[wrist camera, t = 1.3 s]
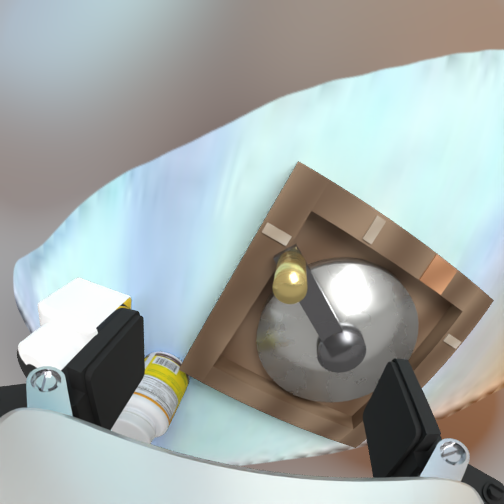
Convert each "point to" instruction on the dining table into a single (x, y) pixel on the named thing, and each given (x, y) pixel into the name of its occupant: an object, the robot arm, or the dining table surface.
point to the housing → (315, 249)
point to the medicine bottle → (69, 323)
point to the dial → (333, 326)
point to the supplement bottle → (153, 399)
